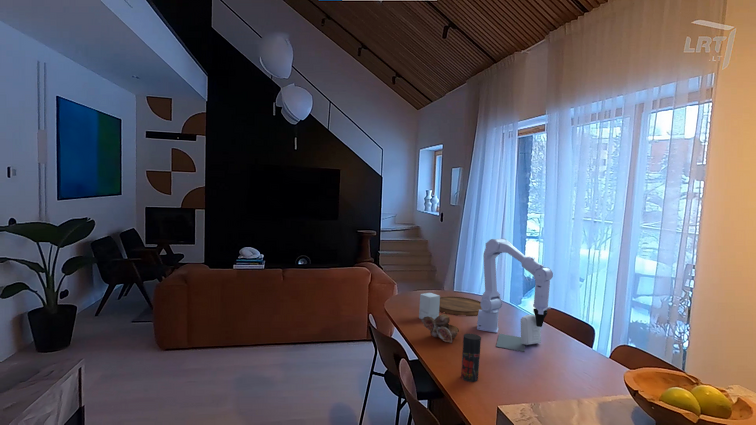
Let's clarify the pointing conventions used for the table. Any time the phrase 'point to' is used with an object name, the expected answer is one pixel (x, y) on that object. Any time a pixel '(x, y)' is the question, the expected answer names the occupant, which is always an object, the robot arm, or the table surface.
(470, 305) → the cutting board
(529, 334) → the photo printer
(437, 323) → the seed pod
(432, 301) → the supplement box
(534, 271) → the robot arm
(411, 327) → the table surface
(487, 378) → the table surface
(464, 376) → the deodorant
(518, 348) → the mat
